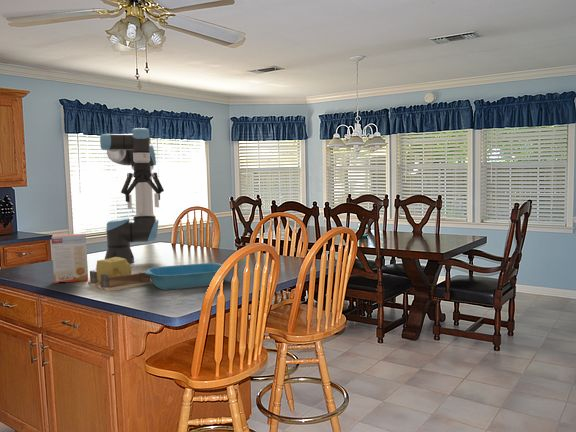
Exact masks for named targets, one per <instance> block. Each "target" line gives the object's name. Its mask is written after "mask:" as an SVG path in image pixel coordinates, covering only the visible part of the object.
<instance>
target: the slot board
mask: <svg viewBox="0 0 576 432" xmlns="http://www.w3.org/2000/svg"><path fill="white" fill-rule="evenodd" d="M130 272H131V274H129V275H122V276H116V277H109V278H108V275H105V274H100V279H101V283H98V280H97V273H96V270H89V280H88V281H87V284H88V285H90V286H93V287H96V288H98V289H101V290H103V291H105V292H110V291H111V292H112V291H117V290H122V289H123V290H124V289H127V288H128V289H129V288H134V287H139V286H144V285H145V286H146V285H152V284H154V283H153V282H152V280H151V278H150V275H147V274H145V271H144V272H136V273H132V269H131V270H130Z"/></svg>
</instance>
